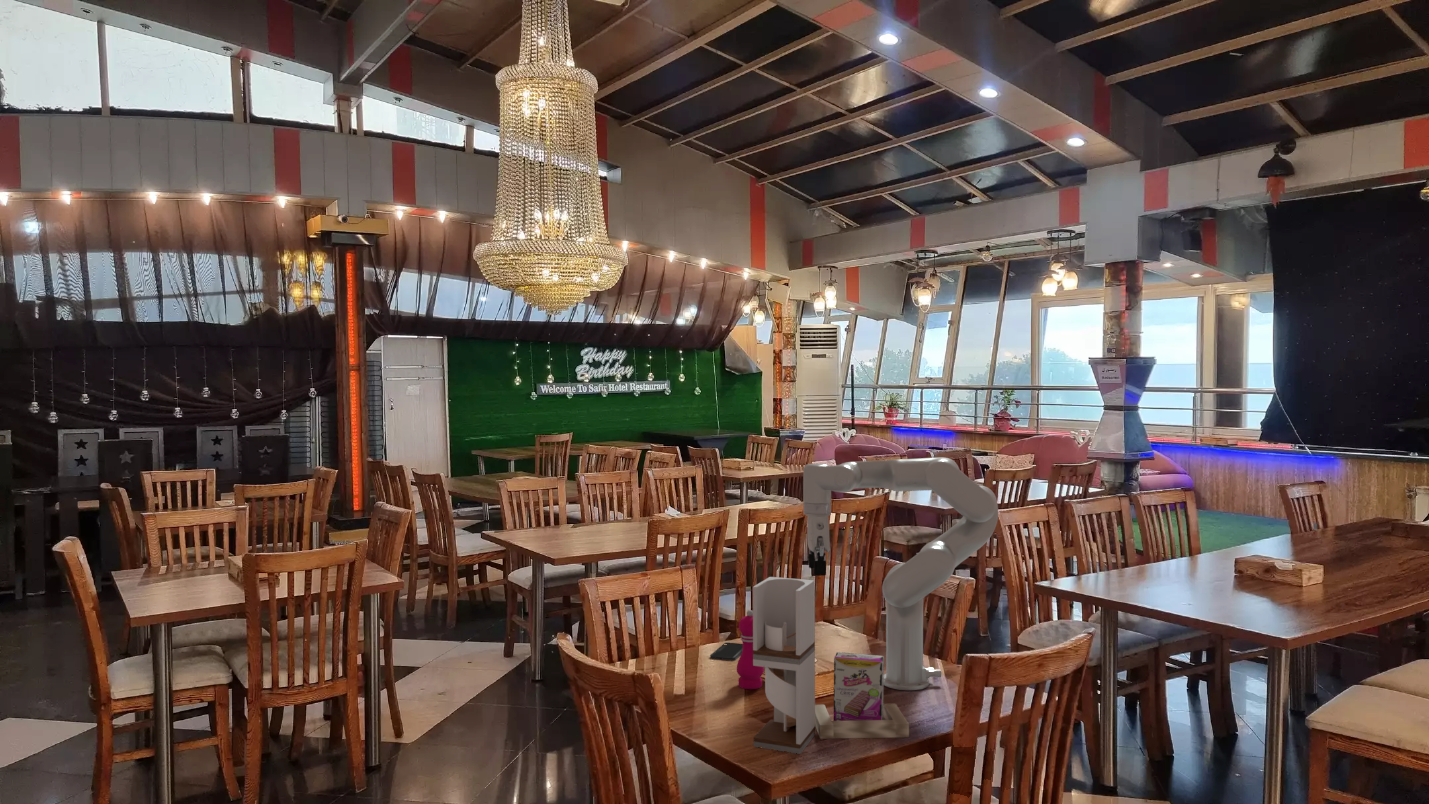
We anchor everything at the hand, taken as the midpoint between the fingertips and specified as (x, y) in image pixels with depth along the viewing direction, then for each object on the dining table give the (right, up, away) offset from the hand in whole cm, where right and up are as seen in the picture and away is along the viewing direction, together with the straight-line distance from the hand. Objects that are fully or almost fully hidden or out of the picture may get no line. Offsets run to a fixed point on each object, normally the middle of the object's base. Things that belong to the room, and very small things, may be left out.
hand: (817, 571), depth 242 cm
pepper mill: (-19, -29, -8) cm, 35 cm away
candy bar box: (+5, -29, -37) cm, 47 cm away
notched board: (+5, -29, -37) cm, 47 cm away
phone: (-24, -29, +22) cm, 43 cm away
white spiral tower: (-13, -29, -45) cm, 55 cm away
